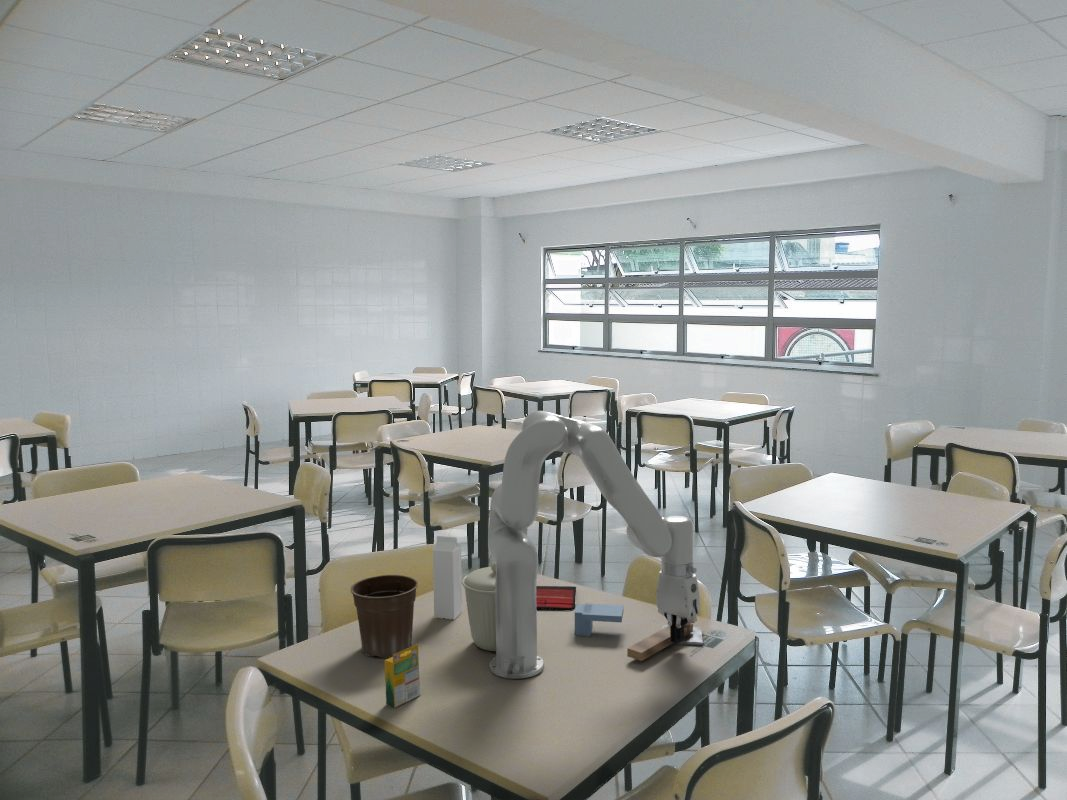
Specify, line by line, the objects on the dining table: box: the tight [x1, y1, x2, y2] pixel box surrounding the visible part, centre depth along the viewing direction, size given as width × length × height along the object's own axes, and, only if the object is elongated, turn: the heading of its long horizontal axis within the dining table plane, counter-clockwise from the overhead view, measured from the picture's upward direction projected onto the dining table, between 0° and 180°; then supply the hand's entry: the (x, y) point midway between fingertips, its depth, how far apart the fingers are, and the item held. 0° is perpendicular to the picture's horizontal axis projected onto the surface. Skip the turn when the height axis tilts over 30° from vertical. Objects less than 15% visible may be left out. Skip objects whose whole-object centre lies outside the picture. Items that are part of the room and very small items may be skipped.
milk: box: [432, 535, 463, 621], centre depth 217 cm, size 6×6×22 cm
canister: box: [462, 561, 496, 652], centre depth 197 cm, size 18×18×21 cm
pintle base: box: [661, 624, 704, 646], centre depth 201 cm, size 10×10×1 cm
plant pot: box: [350, 574, 419, 659], centre depth 195 cm, size 16×16×16 cm
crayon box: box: [384, 643, 421, 709], centre depth 169 cm, size 7×3×12 cm, turn 141°
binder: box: [536, 585, 577, 611], centre depth 229 cm, size 16×2×21 cm
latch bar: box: [626, 623, 694, 662], centre depth 194 cm, size 23×4×4 cm, turn 138°
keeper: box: [574, 602, 624, 637], centre depth 205 cm, size 8×12×6 cm, turn 80°
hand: (677, 641), depth 193 cm, fingers closed
